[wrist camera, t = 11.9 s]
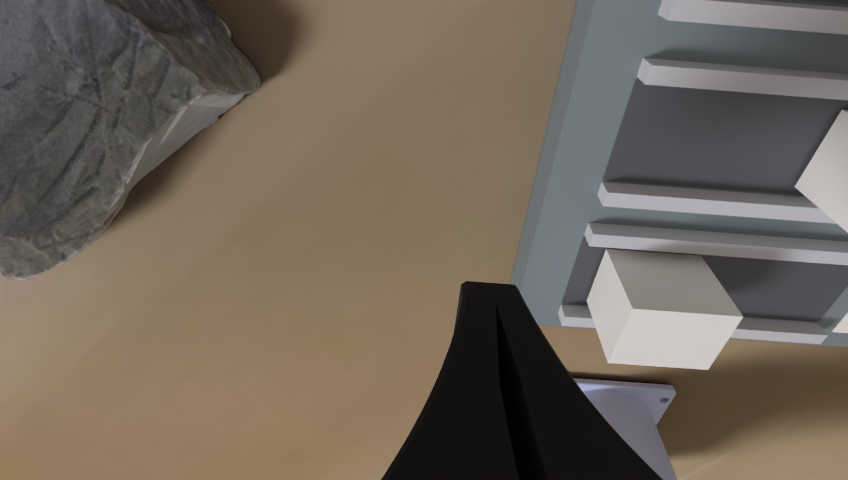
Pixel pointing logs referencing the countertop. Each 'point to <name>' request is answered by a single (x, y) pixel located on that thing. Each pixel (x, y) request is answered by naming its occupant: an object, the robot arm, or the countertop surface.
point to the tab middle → (830, 173)
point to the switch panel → (694, 158)
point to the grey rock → (99, 112)
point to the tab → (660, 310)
